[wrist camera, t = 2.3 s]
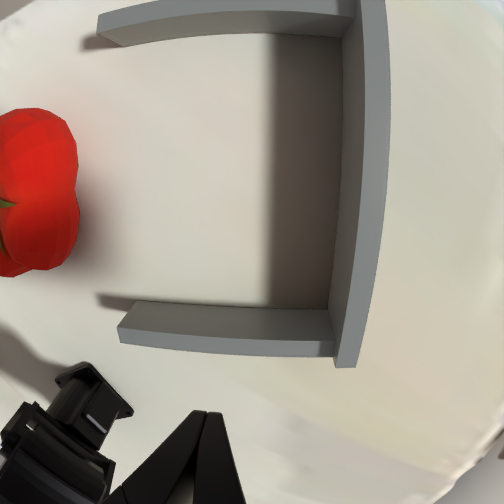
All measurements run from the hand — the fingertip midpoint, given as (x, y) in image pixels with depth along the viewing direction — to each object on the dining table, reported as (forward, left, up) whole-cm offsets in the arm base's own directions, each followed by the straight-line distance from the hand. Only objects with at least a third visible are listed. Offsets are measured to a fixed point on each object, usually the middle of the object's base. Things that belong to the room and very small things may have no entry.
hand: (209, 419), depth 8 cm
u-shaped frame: (+2, +5, -12) cm, 13 cm away
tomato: (-10, +12, -12) cm, 20 cm away
